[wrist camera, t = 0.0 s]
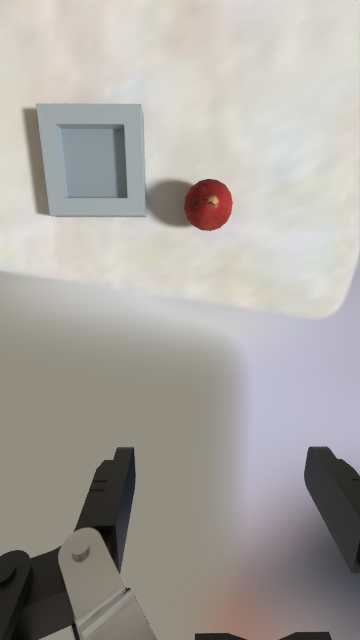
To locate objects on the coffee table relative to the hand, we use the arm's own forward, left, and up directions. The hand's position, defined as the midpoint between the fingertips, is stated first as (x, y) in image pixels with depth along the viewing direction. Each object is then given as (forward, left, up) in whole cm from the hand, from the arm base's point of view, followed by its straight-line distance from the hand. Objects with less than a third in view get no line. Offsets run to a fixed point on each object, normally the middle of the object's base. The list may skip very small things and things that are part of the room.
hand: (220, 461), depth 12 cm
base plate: (-19, -12, -29) cm, 37 cm away
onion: (-14, +2, -30) cm, 33 cm away
